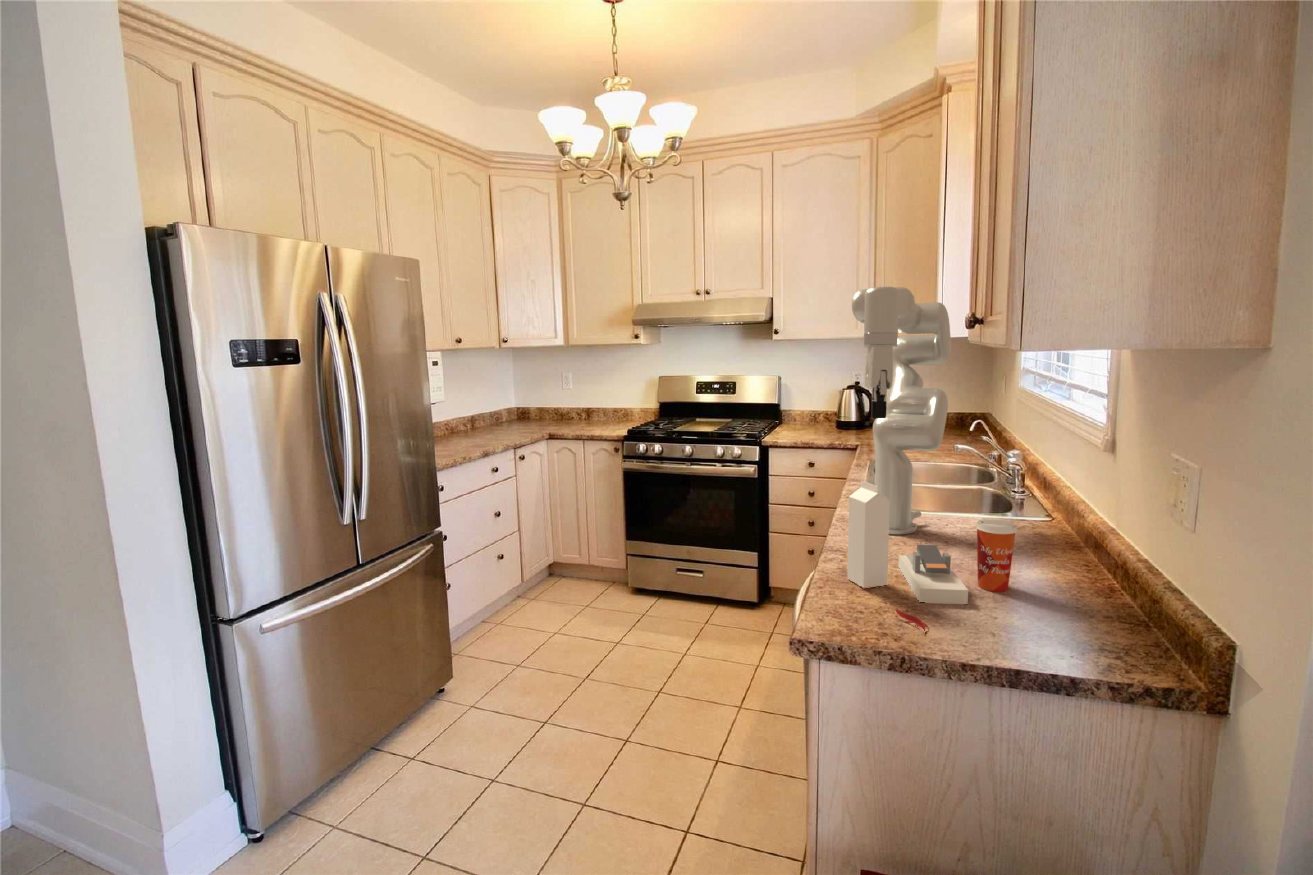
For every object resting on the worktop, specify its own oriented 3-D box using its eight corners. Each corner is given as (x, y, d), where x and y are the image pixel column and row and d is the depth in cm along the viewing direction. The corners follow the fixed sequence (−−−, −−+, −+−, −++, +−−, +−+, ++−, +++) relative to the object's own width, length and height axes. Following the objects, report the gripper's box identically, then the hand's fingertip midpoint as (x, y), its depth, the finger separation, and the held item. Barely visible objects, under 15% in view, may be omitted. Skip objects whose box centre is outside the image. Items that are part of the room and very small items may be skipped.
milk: (870, 576, 145) (873, 479, 142) (887, 586, 139) (891, 484, 136) (846, 580, 143) (848, 481, 140) (863, 590, 137) (866, 487, 134)
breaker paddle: (916, 549, 143) (917, 544, 142) (935, 550, 142) (936, 544, 142) (926, 572, 135) (926, 567, 134) (946, 573, 134) (947, 567, 134)
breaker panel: (898, 567, 150) (899, 539, 149) (939, 568, 148) (941, 540, 147) (919, 602, 130) (920, 570, 129) (967, 604, 129) (969, 571, 128)
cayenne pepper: (935, 639, 116) (935, 629, 115) (908, 639, 116) (909, 629, 116) (913, 611, 128) (913, 601, 127) (889, 611, 128) (889, 601, 128)
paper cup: (977, 592, 134) (980, 526, 132) (968, 579, 142) (972, 516, 140) (1019, 595, 133) (1023, 528, 130) (1008, 581, 140) (1012, 518, 138)
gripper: (859, 340, 162) (857, 414, 165) (869, 341, 147) (867, 422, 150) (890, 339, 161) (888, 414, 164) (904, 340, 146) (901, 421, 149)
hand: (878, 417), depth 157 cm, fingers closed
